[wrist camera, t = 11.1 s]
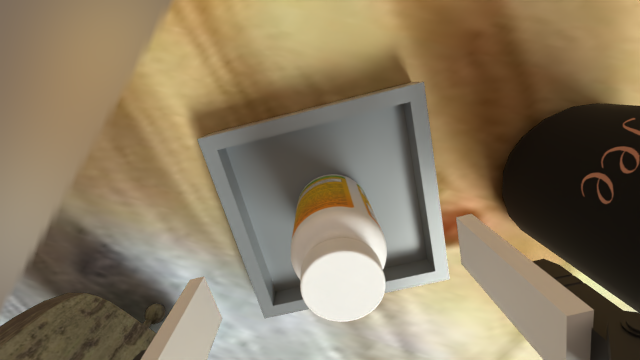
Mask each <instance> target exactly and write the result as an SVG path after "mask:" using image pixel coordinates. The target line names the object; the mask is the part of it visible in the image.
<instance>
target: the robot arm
mask: <svg viewBox="0 0 640 360" xmlns="http://www.w3.org/2000/svg"><path fill="white" fill-rule="evenodd" d="M456 219H457V228H458V237H459V245H460V254H461V263H462V265H463V266H464V267H465V269H466V270H467V271H468V272H469V273H470V274H471V276H472V277H473V278H474V279H475V280H476V281H477V283H478V284H479V285H480V286H481V287H482V288H483V290H484V291H485V292H486V293H487V294H488V295H489V297H490V298H491V299H492V300H493V301H494V302H495V304H496V305H497V306H498V307H499V308H500V309H501V311H502V312H503V313H504V314H505V315H506V316H507V318H508V319H509V320H510V321H511V322H512V323H513V325H514V326H515V327H516V328H517V329H518V330H519V332H520V333H521V334H522V335H523V336H524V337H525V339H526V340H527V341H528V342H529V343H530V344H531V346H532V347H533V348H534V349H535V350H536V351H537V353H538V354H539V355H540V356H541V357H542V358H543V360H640V313H637V312H629V311H623V310H622V309H620V308H619V307H617V306H616V305H615V304H613V303H612V302H610V301H609V300H608V299H606V298H605V297H603V296H602V295H601V294H599V293H598V292H596V291H595V290H594V289H592V288H591V287H589V286H588V285H587V284H585V283H583V282H582V281H581V280H580V279H578V278H577V277H575V276H573V275H572V274H571V273H570V272H568V271H567V270H566V269H564V268H563V267H561V266H560V265H558V264H555V263H553V262H550V261H548V260H545V259H541V260H537V261H531V260H530V259H528V258H527V257H526V256H525V255H523V254H522V253H521V252H519V251H518V250H517V249H516V248H514V247H513V246H512V245H511V244H509V243H508V242H507V241H505V240H504V239H503V238H502V237H500V236H499V235H498V234H497V233H495V232H494V231H493V230H491V229H490V228H489V227H488V226H486V225H485V224H484V223H483V222H481V221H480V220H479V219H477V218H476V217H475V216H474V215H472V214H469V215H465V216H461V217H456ZM221 321H222V317H221V315H220V312H219V310H218V308H217V305H216V303H215V301H214V298H213V296H212V294H211V291H210V289H209V287H208V284H207V282H206V280H205V277H200V278H196V279H192V280H190V281H189V282H188V284H187V286H186V287H185V289H184V290H183V292H182V294H181V295H180V297H179V299H178V300H177V302H176V303H175V305H174V307H173V308H172V310H171V311H170V313H169V315H168V316H167V318H166V319H165V321H164V323H163V324H162V326H161V327H160V329H159V331H158V332H157V334H156V336H155V337H154V339H153V340H152V342H151V344H150V345H149V347H148V348H147V349H146V350H142V351H141V352H140V353H139V354H138V355H137V356H136V357H135V358H134V359H133V360H207V358H208V355H209V352H210V350H211V347H212V344H213V342H214V339H215V336H216V334H217V331H218V328H219V326H220V323H221Z"/></svg>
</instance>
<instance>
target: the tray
mask: <svg viewBox="0 0 640 360" xmlns="http://www.w3.org/2000/svg"><path fill="white" fill-rule="evenodd" d="M197 140H198V142H199V145H200V148H201V150H202V153H203V156H204V158H205V161H206V164H207V166H208V169H209V172H210V174H211V177H212V180H213V182H214V185H215V188H216V190H217V193H218V196H219V198H220V201H221V204H222V206H223V209H224V212H225V214H226V217H227V220H228V222H229V225H230V228H231V230H232V233H233V236H234V238H235V241H236V244H237V246H238V249H239V252H240V254H241V257H242V260H243V262H244V265H245V268H246V270H247V273H248V276H249V278H250V281H251V284H252V286H253V289H254V291H255V294H256V297H257V299H258V302H259V305H260V307H261V310H262V313H263V315H264V318H269V317H274V316H278V315H283V314H288V313H293V312H297V311H302V310H307V309H309V308H308V306H307V305H306V304H305V302H304V300H303V298H302V295H301V291H300V279H299V278H298V276H297V275H296V273H295V271H294V268H293V266H292V262H291V242H292V235H293V229H294V222H295V216H296V208H297V203H298V199H299V196H300V194H301V192H302V190H303V189H304V188H305V186H306V185H307V184H309V183H310V182H311V181H312V180H314V179H316V178H318V177H320V176H323V175H329V174H337V175H343V176H346V177H348V178H350V179H352V180H354V181H355V182H356V183H357V184H358V185H359V186H360V187H361V188H362V189H363V191H364V193H365V194H366V196H367V198H368V201H369V203H370V205H371V208H372V210H373V212H374V214H375V217H376V219H377V221H378V224H379V226H380V228H381V230H382V232H383V235H384V238H385V241H386V246H387V257H386V262H385V266H384V269H383V273H384V276H385V292H384V293H387V292H392V291H396V290H401V289H406V288H411V287H415V286H420V285H425V284H429V283H434V282H439V281H444V280H448V279H450V277H449V270H448V262H447V254H446V247H445V239H444V231H443V224H442V216H441V209H440V201H439V193H438V186H437V178H436V170H435V163H434V155H433V147H432V140H431V132H430V125H429V117H428V109H427V102H426V94H425V86H424V82H411V83H407V84H403V85H399V86H395V87H391V88H387V89H383V90H379V91H375V92H371V93H367V94H363V95H359V96H356V97H352V98H348V99H344V100H340V101H336V102H332V103H328V104H324V105H320V106H316V107H312V108H308V109H304V110H300V111H296V112H293V113H289V114H285V115H281V116H277V117H273V118H269V119H265V120H261V121H257V122H253V123H249V124H245V125H241V126H237V127H233V128H229V129H226V130H222V131H218V132H214V133H210V134H208V135H206V136H203V137H201V138H199V139H197Z"/></svg>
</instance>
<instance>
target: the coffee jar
mask: <svg viewBox="0 0 640 360" xmlns="http://www.w3.org/2000/svg"><path fill="white" fill-rule="evenodd" d="M502 196H503V199H504V202H505V205H506V208H507V211H508V214H509V216H510V217H511V218H512V220H513V221H514V222H515V223H516V224H517V226H518V227H519V228H520V229H521V230H522V231H524V232H525V233H526V234H528V235H529V236H531V237H532V238H533V239H535V240H536V241H538V242H539V243H541V244H542V245H543V246H545V247H546V248H548V249H549V250H551V251H552V252H553V253H555V254H556V255H558V256H559V257H561V258H562V259H563V260H565V261H566V262H568V263H569V264H570V265H572V266H573V267H575V268H576V269H578V270H579V271H580V272H582V273H583V274H585V275H586V276H588V277H589V278H590V279H592V280H593V281H595V282H596V283H598V284H599V285H600V286H602V287H603V288H605V289H606V290H607V291H609V292H610V293H612V294H613V295H615V296H616V297H617V298H619V299H620V300H622V301H623V302H625V303H626V304H627V305H629V306H630V307H632V308H633V309H635V310H636V311H637V312H639V313H640V106H632V105H616V104H600V103H596V104H589V105H582V106H575V107H571V108H569V109H566V110H564V111H562V112H560V113H557V114H555V115H553V116H551V117H548V118H546V119H544V120H543V121H542V122H541V123H539V124H538V125H537V126H536V127H534V128H533V129H532V130H531V131H529V132H528V133H527V134H526V135H524V136H523V137H522V139H521V140H520V141H519V143H518V144H517V145H516V147H515V148H514V149H513V151H512V152H511V153H510V156H509V158H508V161H507V164H506V166H505V169H504V171H503V186H502Z"/></svg>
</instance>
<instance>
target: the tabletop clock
mask: <svg viewBox="0 0 640 360" xmlns="http://www.w3.org/2000/svg"><path fill="white" fill-rule="evenodd" d="M164 316H165V307H164V306H163V305H161V304H153V305H151V306H149V307H148V308H147V309H146V311H145V320H146V321H145V322H144V323H143V324H142V323H141V322H139V321H138V320H136V319H135V318H134V317H132V316H131V315H129V314H128V313H126V312H125V311H124V310H122V309H121V308H119V307H118V306H116V305H115V304H113V303H111V302H110V301H108V300H106V299H103V298H101V297H98V296H95V295H91V294H88V293H66V294H64V295H61V296H58V297H55V298H52V299H49V300H46V301H43V302H41V303H40V304H38V305H36V306H34V307H32V308H30V309H28V310H26V311H24V312H23V313H21V314H19V315H17V316H16V317H14V318H12V319H11V320H9V321H8V322H6V323H5V324H3V325H2V326H0V360H133V359H134V358H135V357H136V356H137V355H138V354H139V353H140V352H141V351H142V350H146V349H147V348H148V347H149V345H150V344H151V342H152V340H153V339H154V337H155V336H156V333H155V332H154V331H152V330H151V329H149V327H150V325H151V324H156V323H159V322H160V321H162V320H163V318H164Z"/></svg>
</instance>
